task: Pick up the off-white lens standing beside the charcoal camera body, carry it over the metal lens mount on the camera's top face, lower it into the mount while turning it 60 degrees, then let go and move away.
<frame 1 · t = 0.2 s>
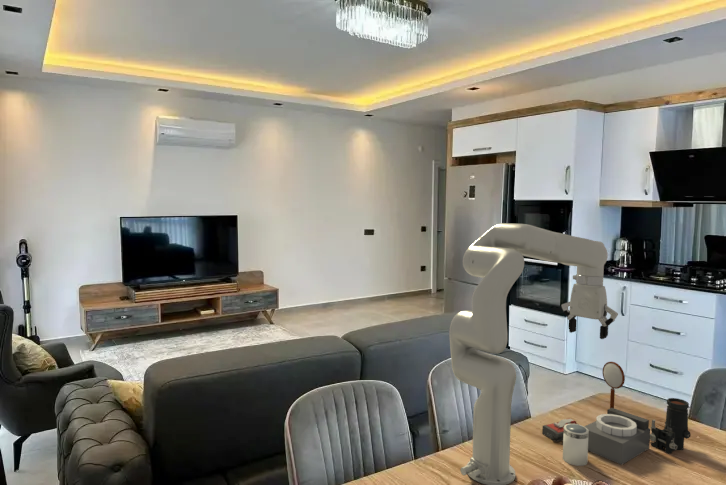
hand: (587, 335, 155), 31 cm above the table, tool pointing down, fingers open, 9 cm apart
magnifying glass: (611, 422, 164), on the table
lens: (574, 459, 139), on the table
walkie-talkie: (572, 435, 155), on the table
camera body: (614, 447, 146), on the table
scope: (672, 448, 147), on the table
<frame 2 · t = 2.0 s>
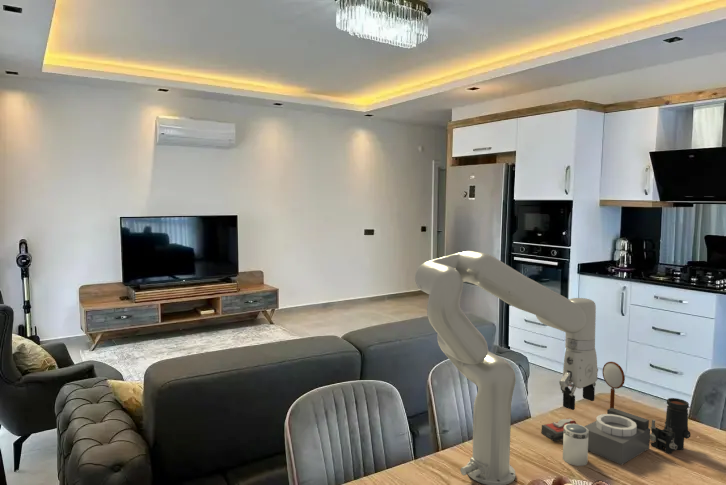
hand: (578, 403, 138), 16 cm above the table, tool pointing down, fingers open, 9 cm apart
nothing on the table moved.
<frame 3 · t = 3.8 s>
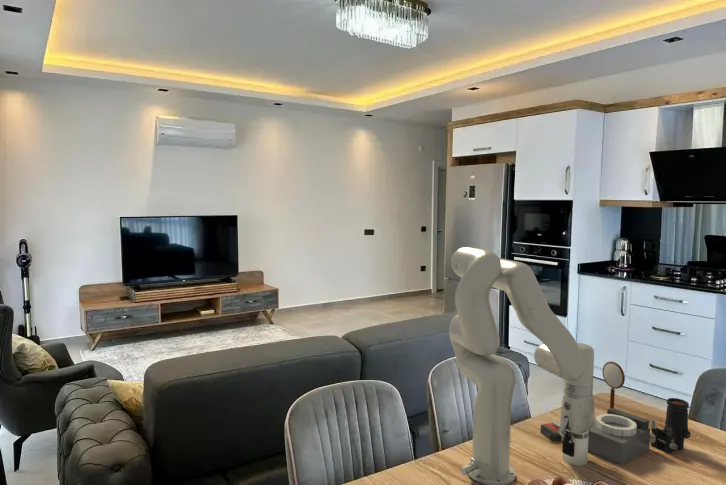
hand: (575, 450, 139), 3 cm above the table, tool pointing down, fingers closed on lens, 6 cm apart
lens: (575, 459, 139), on the table, touching gripper
everything else where it was.
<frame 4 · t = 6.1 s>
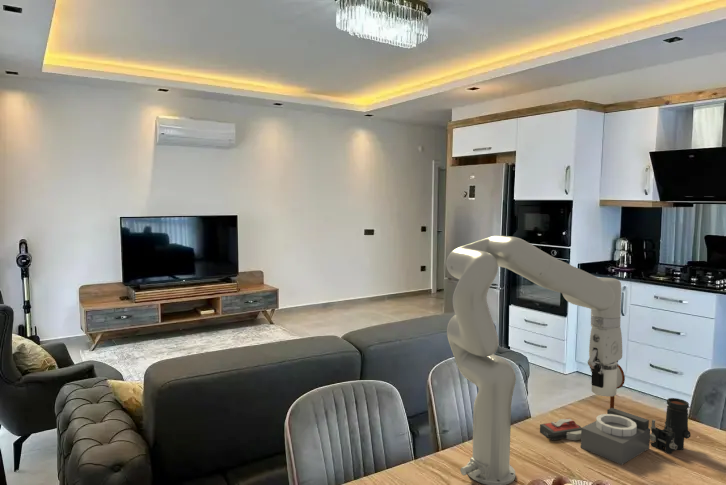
hand: (604, 382, 142), 21 cm above the table, tool pointing down, fingers closed on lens, 6 cm apart
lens: (603, 392, 142), point 18 cm above the table, touching gripper
everything else where it was.
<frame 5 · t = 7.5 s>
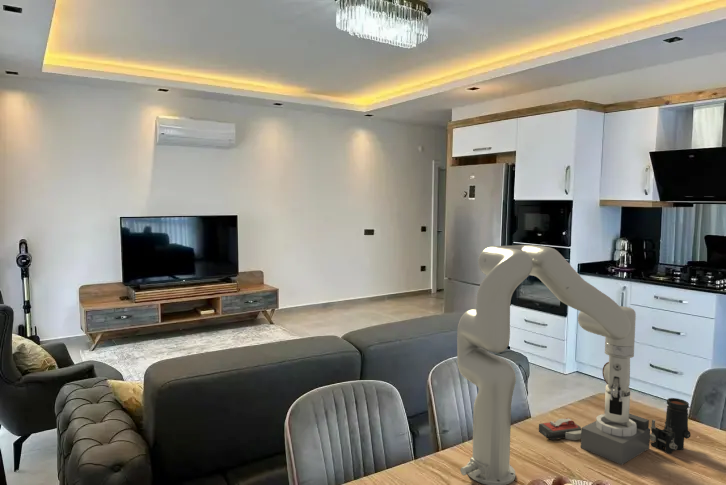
hand: (616, 409, 145), 12 cm above the table, tool pointing down, fingers closed on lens, 6 cm apart
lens: (616, 417, 145), point 9 cm above the table, touching gripper
everything else where it was.
when the fingers open (9 cm above the table, at t = 8.5 s): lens stays where it is, resting on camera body.
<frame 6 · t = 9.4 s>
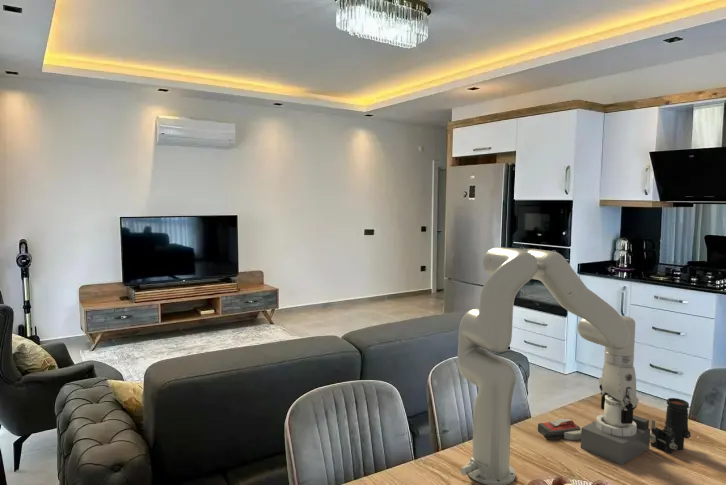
hand: (616, 415, 145), 10 cm above the table, tool pointing down, fingers open, 9 cm apart
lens: (615, 428, 146), point 6 cm above the table, touching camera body
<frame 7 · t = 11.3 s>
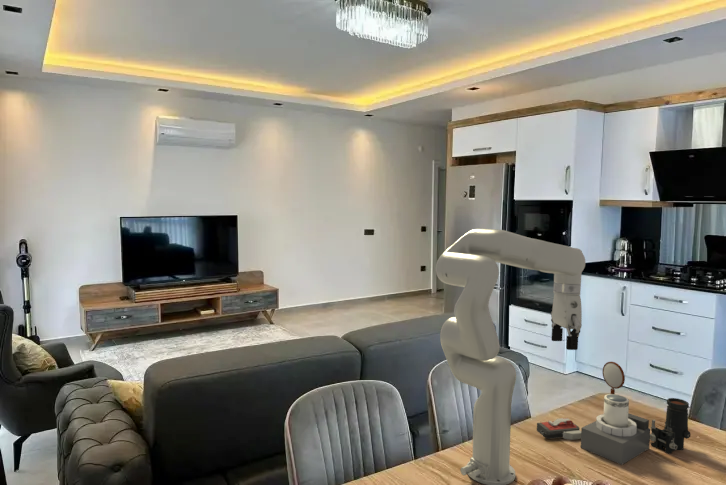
hand: (564, 345, 150), 29 cm above the table, tool pointing down, fingers open, 9 cm apart
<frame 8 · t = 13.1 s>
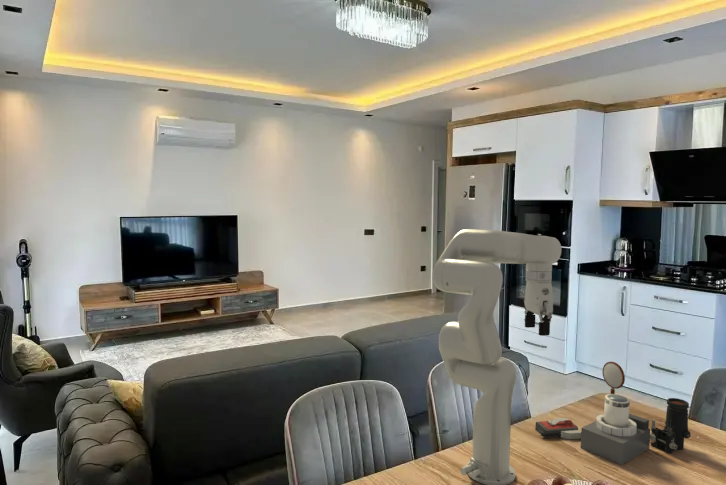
hand: (536, 331, 153), 32 cm above the table, tool pointing down, fingers open, 9 cm apart
at the end: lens 0.2 cm off-centre on the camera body, point 6.1 cm above the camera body's base; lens tilted 1°; the gripper is holding nothing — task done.
